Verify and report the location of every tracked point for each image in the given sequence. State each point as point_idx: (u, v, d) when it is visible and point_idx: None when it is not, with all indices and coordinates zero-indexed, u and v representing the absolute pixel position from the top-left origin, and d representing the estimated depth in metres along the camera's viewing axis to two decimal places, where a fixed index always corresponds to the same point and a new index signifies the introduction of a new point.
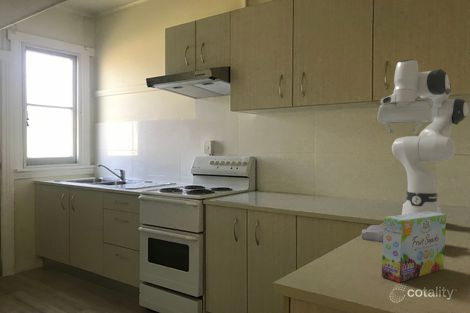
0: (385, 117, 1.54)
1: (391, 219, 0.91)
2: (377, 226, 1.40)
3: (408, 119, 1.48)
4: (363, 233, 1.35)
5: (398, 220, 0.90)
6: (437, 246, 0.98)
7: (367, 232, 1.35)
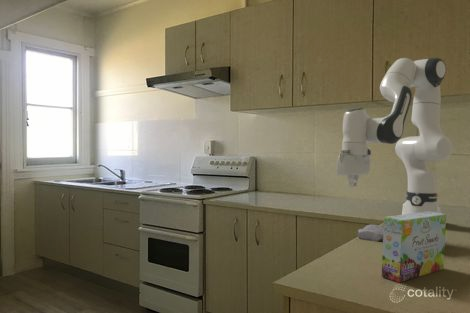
0: None
1: (391, 219, 0.91)
2: (373, 225, 1.41)
3: None
4: (359, 232, 1.36)
5: (398, 220, 0.90)
6: (437, 246, 0.98)
7: (363, 231, 1.36)
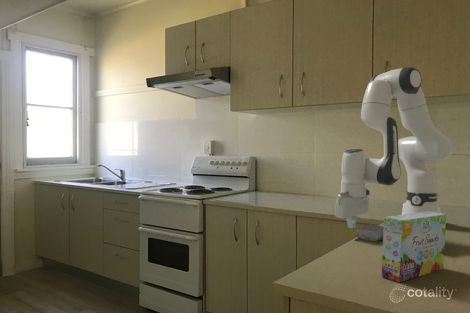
0: None
1: (391, 219, 0.91)
2: (372, 225, 1.42)
3: None
4: (358, 232, 1.37)
5: (398, 220, 0.90)
6: (437, 246, 0.98)
7: (362, 231, 1.36)
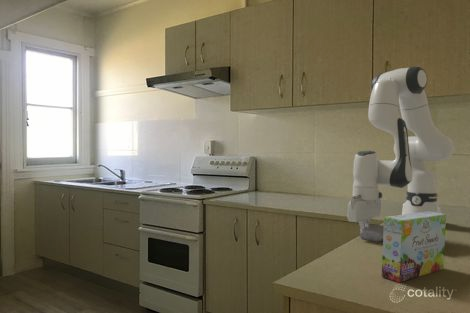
0: None
1: (391, 219, 0.91)
2: (376, 226, 1.41)
3: None
4: (361, 232, 1.36)
5: (398, 220, 0.90)
6: (437, 246, 0.98)
7: (365, 231, 1.35)
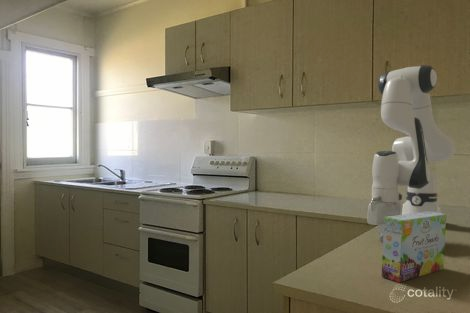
0: None
1: (391, 219, 0.91)
2: None
3: None
4: (382, 236, 1.31)
5: (398, 220, 0.90)
6: (437, 246, 0.98)
7: None
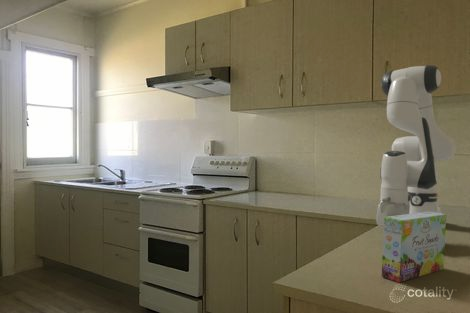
0: None
1: (391, 219, 0.91)
2: None
3: None
4: None
5: (398, 220, 0.90)
6: (437, 246, 0.98)
7: None
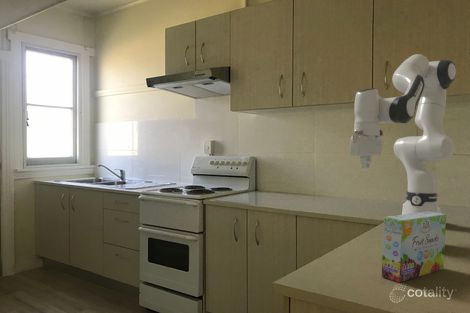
0: None
1: (391, 219, 0.91)
2: None
3: None
4: None
5: (398, 220, 0.90)
6: (437, 246, 0.98)
7: None
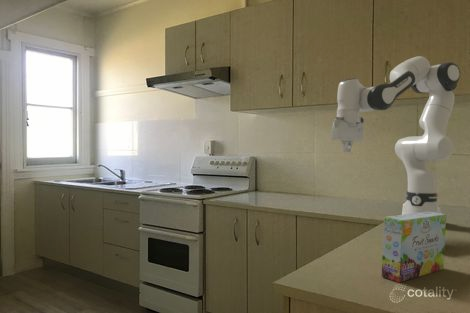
0: None
1: (391, 219, 0.91)
2: None
3: None
4: None
5: (398, 220, 0.90)
6: (437, 246, 0.98)
7: None
